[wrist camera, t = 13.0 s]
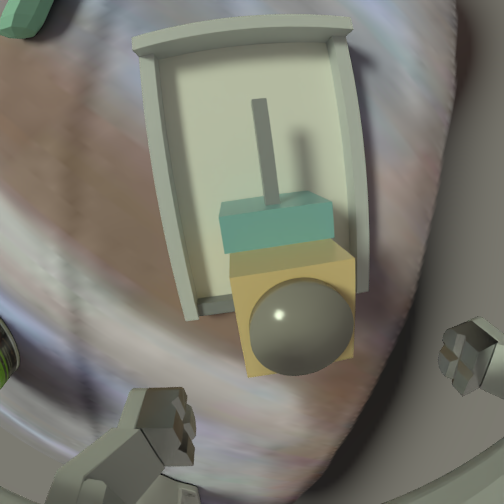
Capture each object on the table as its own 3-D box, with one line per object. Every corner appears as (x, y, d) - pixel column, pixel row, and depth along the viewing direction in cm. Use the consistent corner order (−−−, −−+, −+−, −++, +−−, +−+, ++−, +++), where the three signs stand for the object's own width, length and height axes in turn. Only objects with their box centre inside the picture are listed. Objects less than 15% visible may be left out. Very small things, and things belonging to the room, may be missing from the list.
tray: (357, 279, 24) (376, 299, 20) (189, 306, 23) (183, 332, 20) (332, 35, 17) (350, 17, 14) (146, 55, 17) (131, 37, 13)
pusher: (310, 218, 21) (334, 237, 16) (225, 230, 21) (224, 254, 16) (297, 105, 18) (319, 90, 13) (208, 115, 18) (201, 101, 13)
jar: (315, 294, 22) (359, 368, 13) (241, 306, 22) (249, 390, 13) (309, 222, 20) (364, 265, 11) (229, 233, 20) (229, 287, 11)
